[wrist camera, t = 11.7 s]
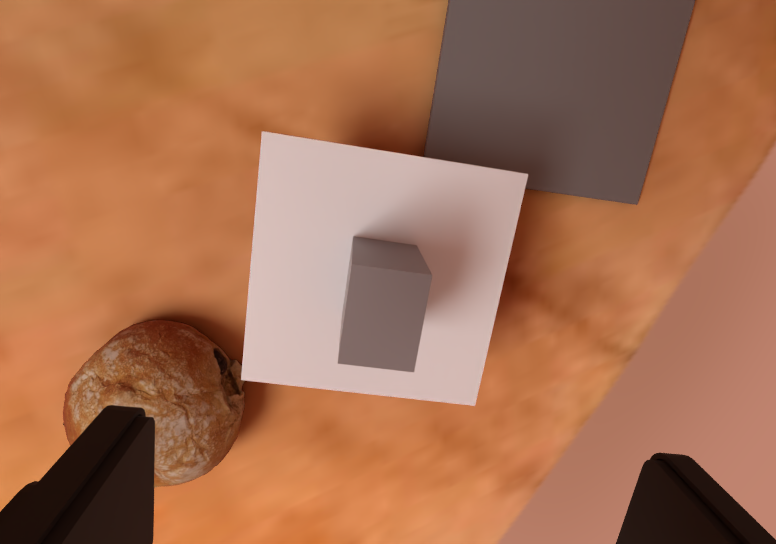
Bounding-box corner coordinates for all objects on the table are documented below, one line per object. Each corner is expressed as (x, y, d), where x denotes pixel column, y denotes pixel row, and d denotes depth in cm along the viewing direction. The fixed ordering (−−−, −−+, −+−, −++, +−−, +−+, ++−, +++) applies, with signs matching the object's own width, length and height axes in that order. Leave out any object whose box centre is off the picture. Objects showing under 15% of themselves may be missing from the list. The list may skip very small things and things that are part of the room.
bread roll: (267, 393, 35) (292, 427, 28) (143, 500, 32) (135, 570, 25) (176, 287, 33) (177, 294, 25) (31, 393, 30) (-15, 434, 22)
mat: (462, -86, 25) (465, -92, 24) (699, -39, 26) (707, -43, 25) (420, 172, 28) (422, 173, 27) (631, 203, 29) (637, 204, 29)
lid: (265, 131, 22) (233, 130, 16) (522, 172, 23) (576, 185, 17) (244, 372, 25) (211, 441, 19) (471, 397, 26) (502, 469, 20)
